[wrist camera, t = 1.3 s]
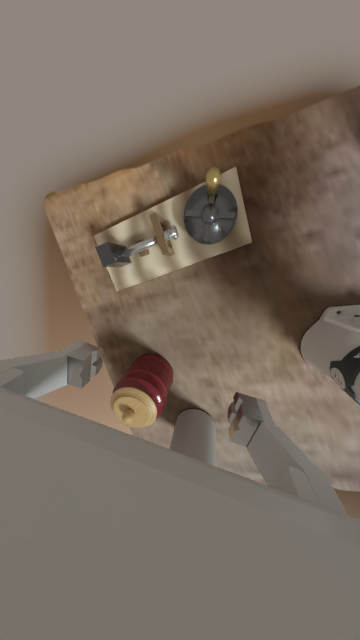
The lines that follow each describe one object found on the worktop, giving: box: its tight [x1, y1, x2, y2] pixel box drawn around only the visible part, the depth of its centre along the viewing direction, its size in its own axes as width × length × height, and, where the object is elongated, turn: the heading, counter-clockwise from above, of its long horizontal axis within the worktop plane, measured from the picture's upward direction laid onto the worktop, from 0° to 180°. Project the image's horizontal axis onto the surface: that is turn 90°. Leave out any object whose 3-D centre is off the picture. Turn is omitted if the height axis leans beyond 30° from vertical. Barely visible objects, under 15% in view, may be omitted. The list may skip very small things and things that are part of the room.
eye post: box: [149, 212, 175, 256], centre depth 35 cm, size 1×7×6 cm, turn 19°
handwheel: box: [184, 167, 238, 245], centre depth 30 cm, size 10×10×6 cm
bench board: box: [94, 167, 252, 291], centre depth 37 cm, size 34×14×4 cm, turn 109°
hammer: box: [95, 225, 179, 267], centre depth 36 cm, size 17×4×7 cm, turn 109°
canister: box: [110, 354, 173, 428], centre depth 43 cm, size 13×13×18 cm
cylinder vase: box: [170, 409, 216, 466], centre depth 43 cm, size 12×12×25 cm
